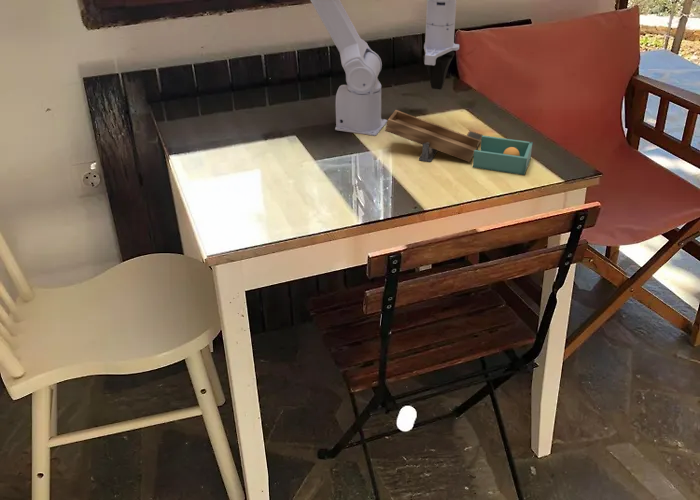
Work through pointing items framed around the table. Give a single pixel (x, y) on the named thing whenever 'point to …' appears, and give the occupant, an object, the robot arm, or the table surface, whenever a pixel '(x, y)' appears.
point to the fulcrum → (427, 153)
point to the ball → (512, 151)
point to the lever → (434, 135)
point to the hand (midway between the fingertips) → (437, 87)
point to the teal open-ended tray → (502, 155)
